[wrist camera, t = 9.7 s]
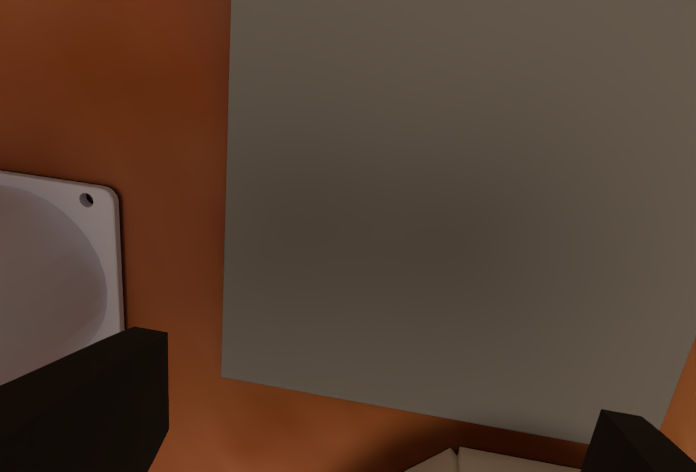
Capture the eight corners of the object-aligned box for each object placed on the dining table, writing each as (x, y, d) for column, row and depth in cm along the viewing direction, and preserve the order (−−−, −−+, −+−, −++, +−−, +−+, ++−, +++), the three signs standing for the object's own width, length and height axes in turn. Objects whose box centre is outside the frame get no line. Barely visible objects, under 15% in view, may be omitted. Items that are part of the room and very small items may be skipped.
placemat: (224, 371, 21) (220, 377, 21) (238, -93, 16) (233, -97, 15) (645, 447, 20) (649, 455, 19) (830, -39, 14) (841, -40, 14)
